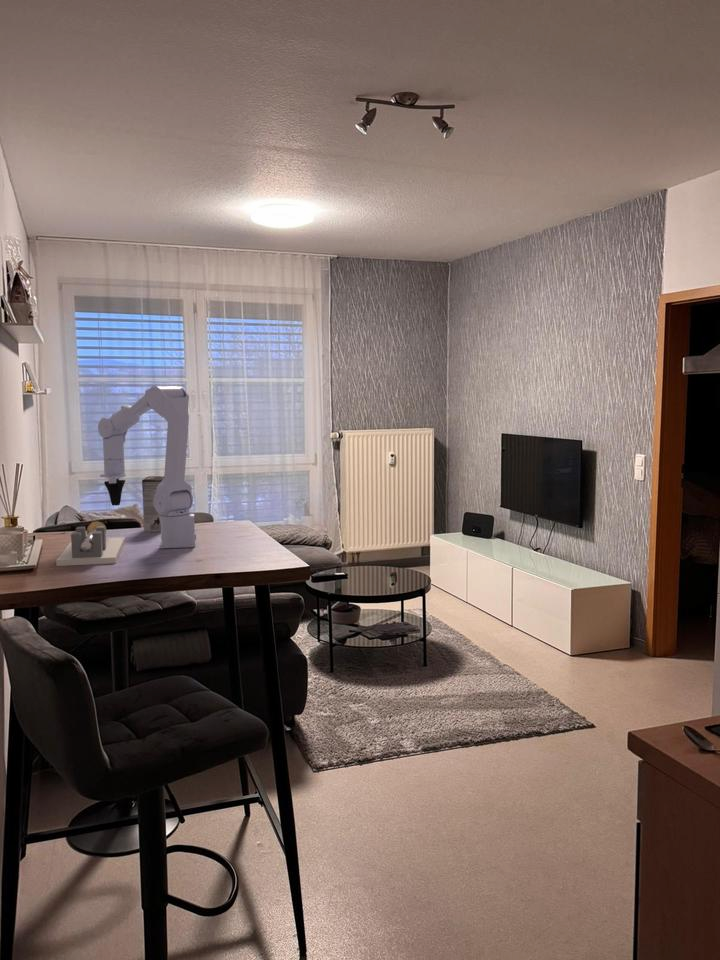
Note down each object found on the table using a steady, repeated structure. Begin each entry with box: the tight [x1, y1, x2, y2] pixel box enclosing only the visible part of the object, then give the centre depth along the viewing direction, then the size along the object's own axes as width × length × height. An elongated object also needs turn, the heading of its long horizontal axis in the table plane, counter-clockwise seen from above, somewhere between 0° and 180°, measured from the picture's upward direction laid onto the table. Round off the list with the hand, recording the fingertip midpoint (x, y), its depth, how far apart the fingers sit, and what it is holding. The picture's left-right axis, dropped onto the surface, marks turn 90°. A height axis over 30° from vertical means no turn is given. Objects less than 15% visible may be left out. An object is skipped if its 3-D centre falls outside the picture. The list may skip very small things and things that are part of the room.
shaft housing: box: [55, 525, 126, 567], centre depth 205 cm, size 14×27×8 cm, turn 12°
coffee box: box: [141, 475, 164, 533], centre depth 240 cm, size 9×6×16 cm
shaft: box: [80, 520, 107, 552], centre depth 203 cm, size 5×23×5 cm, turn 12°
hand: (115, 505), depth 228 cm, fingers closed
